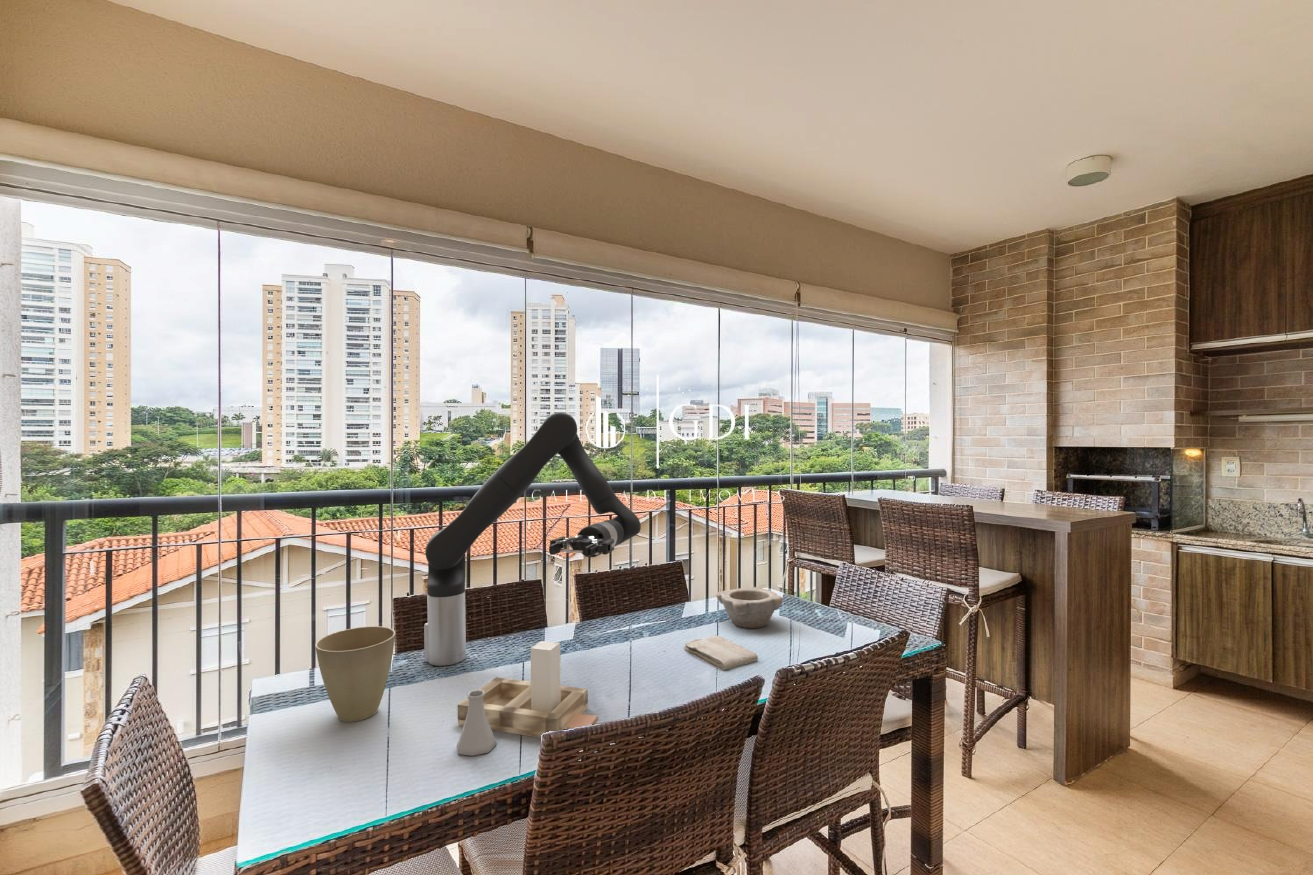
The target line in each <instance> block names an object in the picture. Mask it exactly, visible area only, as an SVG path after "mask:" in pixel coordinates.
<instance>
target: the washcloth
mask: <svg viewBox="0 0 1313 875" xmlns="http://www.w3.org/2000/svg"><path fill="white" fill-rule="evenodd" d="M684 645H685V646H684V647H683V649H684V650H685V651H686V652H687V653H689V654H690V655H692V656H694V657H695V658H697V659H699V660H701V661H703V662H705V663H706V664H709V665H711V666H712V667H715V668H716V669H718V670H721V671H726V670H730V669H733V668H736V667H739V666H745V665H748V664H752V663H755V662H757V661H758V660H759V656H758V655H757V653H755V652H754V651H752V650H750V649H747V648H745V647H743V646H742V645H739V644H738V643H735V642H733V641H732V640H729V639H726V638H724V637H723V636H720V635H711V636H709V637H707V638H700V639H693V640H690V641H687V642H685V643H684Z"/></svg>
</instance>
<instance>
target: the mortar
mask: <svg viewBox="0 0 1313 875" xmlns="http://www.w3.org/2000/svg"><path fill="white" fill-rule="evenodd" d="M715 596H716V598H717V600H718V602H719V603H720V604H721V605H723V608H724V610H725V612H726V614H727V616H728V618H729V619H730V621H731V622H732V623H733V624H734V625H735V626H737V627H740V628H745V629H759V628H763V627H765V626H766V625H767V624H769V622H770V621H771V618H772V617H773V614H774V612H775V611H777V610H779V609H780V607H781V605H782V604H783V601H784V600H783V597H782V596H780V595H778V594H777V593H776V592H775V591H772V590H769V589H767V588H762V587H758V586H753V587H743V588H734V589H728V590H720V591H717V592H716V595H715Z"/></svg>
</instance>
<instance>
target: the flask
mask: <svg viewBox="0 0 1313 875" xmlns="http://www.w3.org/2000/svg"><path fill="white" fill-rule="evenodd" d="M466 696H467V698H468V699H469V707H468V713H467V717H466V720H465V723H464V725H462V730H461V732H460V735H459V739H458V741H457V743H456V750H457V754H458V755H462V756H464V755H465V756H477V755H483V754H486V753H491V752H490V751H491V750H492V749H494V747H495V746H496V745H497V742H496V738H495V735H494V733H493V730H491V728H490V725H489V723H488V720H487V717H486V714H485V710H484V704H483V697H484V696H485V692H484V690H479V689H475V690H474V689H473V690H470V691H469V692H467V694H466Z"/></svg>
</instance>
